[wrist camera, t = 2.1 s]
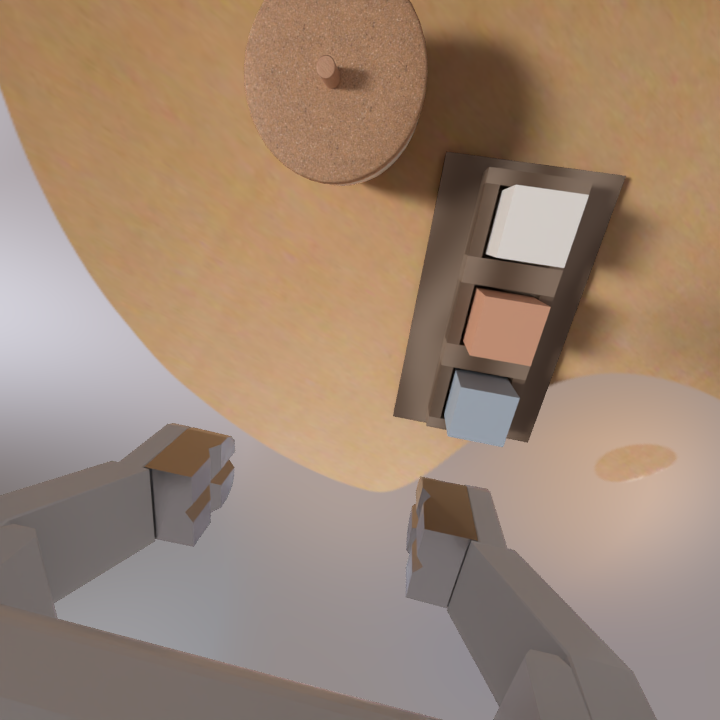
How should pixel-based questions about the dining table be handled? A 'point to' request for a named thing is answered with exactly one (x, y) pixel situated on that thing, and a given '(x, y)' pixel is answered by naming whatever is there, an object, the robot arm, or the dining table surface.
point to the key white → (535, 225)
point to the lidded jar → (336, 84)
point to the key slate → (480, 407)
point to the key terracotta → (504, 326)
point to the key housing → (494, 283)
